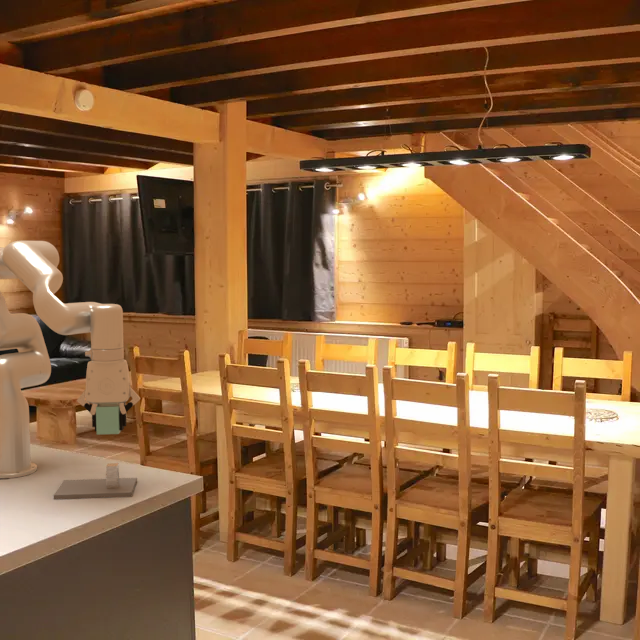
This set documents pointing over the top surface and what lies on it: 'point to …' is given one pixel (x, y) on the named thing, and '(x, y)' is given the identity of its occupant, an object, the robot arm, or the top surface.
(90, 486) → the stand board
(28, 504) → the top surface
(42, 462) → the top surface
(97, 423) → the sage green cube
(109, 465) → the post
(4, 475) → the robot arm
